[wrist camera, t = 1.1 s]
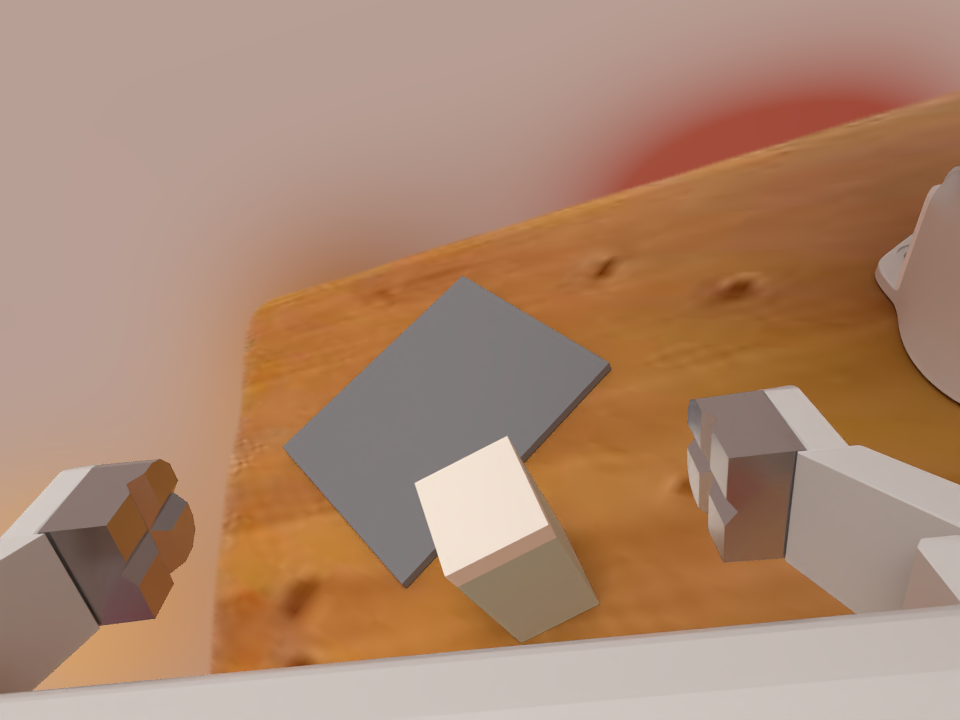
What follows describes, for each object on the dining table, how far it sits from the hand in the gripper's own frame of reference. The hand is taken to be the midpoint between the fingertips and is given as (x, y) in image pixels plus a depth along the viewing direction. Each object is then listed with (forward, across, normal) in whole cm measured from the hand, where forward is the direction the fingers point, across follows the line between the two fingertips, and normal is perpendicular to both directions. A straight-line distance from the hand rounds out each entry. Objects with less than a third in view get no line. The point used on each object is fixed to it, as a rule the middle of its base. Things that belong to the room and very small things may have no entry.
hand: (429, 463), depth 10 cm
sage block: (+20, -1, +24) cm, 31 cm away
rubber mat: (+33, +5, +20) cm, 38 cm away
